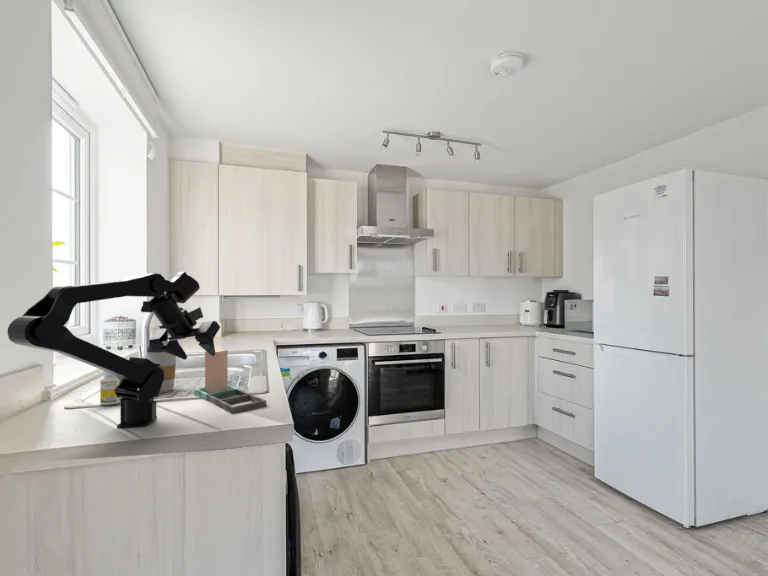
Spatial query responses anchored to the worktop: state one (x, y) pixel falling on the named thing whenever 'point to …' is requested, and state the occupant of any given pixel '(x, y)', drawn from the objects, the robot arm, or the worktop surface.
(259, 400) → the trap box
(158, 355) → the coffee cup
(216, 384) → the slim block
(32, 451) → the worktop surface
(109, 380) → the supplement bottle
